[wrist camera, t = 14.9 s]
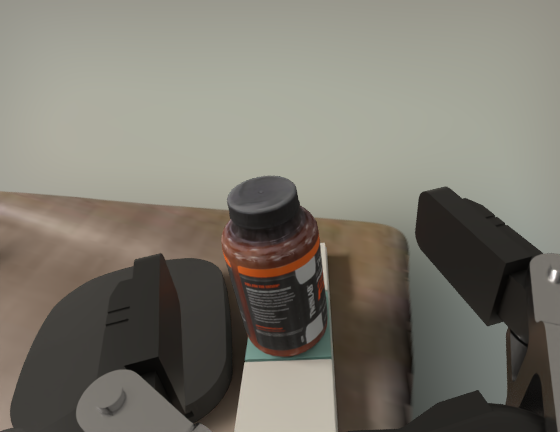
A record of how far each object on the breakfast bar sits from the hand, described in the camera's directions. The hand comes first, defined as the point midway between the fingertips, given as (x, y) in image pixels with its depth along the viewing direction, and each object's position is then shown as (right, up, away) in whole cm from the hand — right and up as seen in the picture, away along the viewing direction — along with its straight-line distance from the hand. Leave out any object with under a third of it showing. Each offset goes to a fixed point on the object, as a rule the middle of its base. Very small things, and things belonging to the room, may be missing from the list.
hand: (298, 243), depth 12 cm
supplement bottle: (0, -7, +16) cm, 18 cm away
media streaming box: (-11, -10, +19) cm, 24 cm away
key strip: (0, -8, +17) cm, 19 cm away
